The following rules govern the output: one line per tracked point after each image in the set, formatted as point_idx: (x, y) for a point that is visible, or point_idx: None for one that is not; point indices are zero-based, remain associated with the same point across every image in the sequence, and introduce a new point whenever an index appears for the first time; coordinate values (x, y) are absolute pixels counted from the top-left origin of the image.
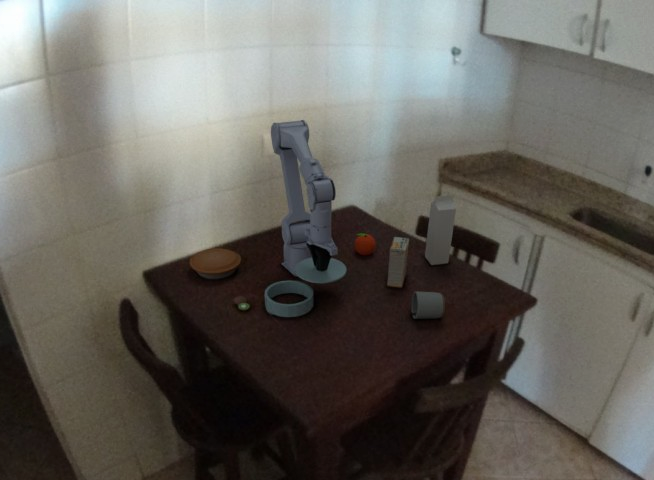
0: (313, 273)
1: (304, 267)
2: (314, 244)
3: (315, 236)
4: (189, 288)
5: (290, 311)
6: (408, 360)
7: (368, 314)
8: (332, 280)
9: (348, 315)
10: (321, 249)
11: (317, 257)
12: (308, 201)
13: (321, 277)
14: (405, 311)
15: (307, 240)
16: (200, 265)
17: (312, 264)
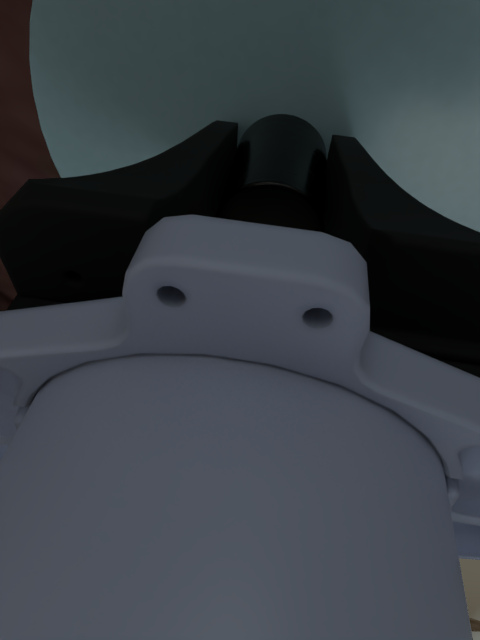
0: (243, 25)
1: (435, 23)
2: (123, 300)
3: (19, 544)
4: None
5: None
6: None
7: (14, 156)
8: (37, 108)
9: (26, 59)
10: (104, 296)
11: (292, 205)
12: None
13: (125, 49)
14: (7, 276)
15: (332, 297)
16: None
17: (407, 147)
